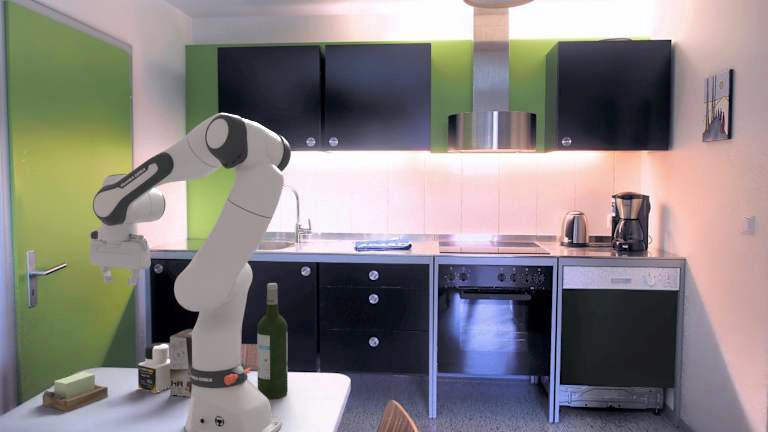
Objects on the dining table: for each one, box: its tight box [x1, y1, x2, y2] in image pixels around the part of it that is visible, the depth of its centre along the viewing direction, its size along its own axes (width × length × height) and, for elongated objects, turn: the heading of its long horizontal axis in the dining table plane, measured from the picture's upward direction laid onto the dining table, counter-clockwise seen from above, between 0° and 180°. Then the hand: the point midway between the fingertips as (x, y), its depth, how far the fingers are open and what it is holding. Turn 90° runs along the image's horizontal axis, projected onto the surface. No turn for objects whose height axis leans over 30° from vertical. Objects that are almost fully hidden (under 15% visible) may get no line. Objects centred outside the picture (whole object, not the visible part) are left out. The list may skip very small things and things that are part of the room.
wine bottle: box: [256, 282, 289, 400], centre depth 147 cm, size 8×8×30 cm
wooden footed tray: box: [42, 384, 109, 412], centre depth 142 cm, size 10×12×4 cm
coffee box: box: [169, 328, 194, 398], centre depth 149 cm, size 9×6×16 cm
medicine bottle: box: [137, 342, 170, 393], centre depth 152 cm, size 7×7×12 cm
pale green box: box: [53, 371, 96, 400], centre depth 142 cm, size 4×8×5 cm, turn 154°
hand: (120, 283), depth 150 cm, fingers open, 8 cm apart
